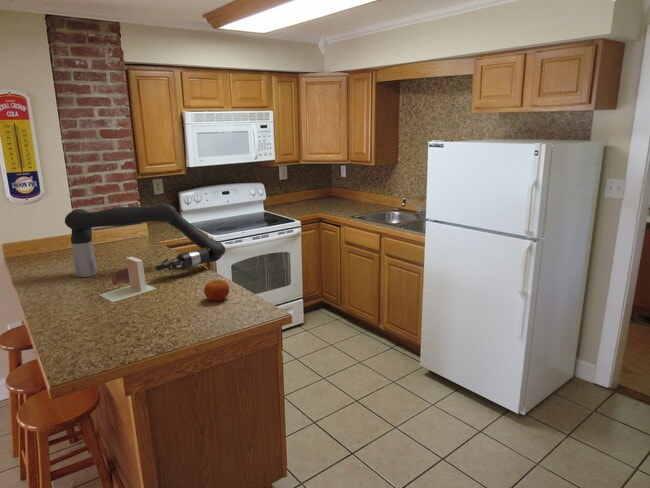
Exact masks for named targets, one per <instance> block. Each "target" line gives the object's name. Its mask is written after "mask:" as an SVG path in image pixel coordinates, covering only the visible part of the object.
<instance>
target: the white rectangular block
mask: <svg viewBox="0 0 650 488" xmlns="http://www.w3.org/2000/svg"><path fill="white" fill-rule="evenodd" d="M126 264H127V269H128V272H129V279H130V283H129V286H131V287H132V288H134V289H137V290H139V291H141V292H142V291H145V290H146V276H145V271H144V270H145V269H144V264H143V260H142V259H140V258H137V257H134V256H129V257H126Z"/></svg>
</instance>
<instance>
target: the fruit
mask: <svg viewBox="0 0 650 488" xmlns="http://www.w3.org/2000/svg"><path fill="white" fill-rule="evenodd" d="M203 292H204V296H205V297H206V299H208V300H210V301H214V302H215V301H217V302H218V301H222V300H224V299H225V298H227V296H228V295H229V293H230V285H229V284H228V283H227V281H225V280H222V279H213V280H210V281H208V282H207V283H206V284H205V285H204V289H203Z"/></svg>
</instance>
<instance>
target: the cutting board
mask: <svg viewBox="0 0 650 488" xmlns="http://www.w3.org/2000/svg"><path fill="white" fill-rule="evenodd" d="M156 289H157V288H156V287H154V286H151V285H148V284H146V290H145V291H142V292H141V291H139V290H137V289H134V288H132V287H131V286H130V285H127V286H124V287H119V288H117V289H114V290H111V291H110V290H109V291H106V292H103V293H100V294H98V295H99V296H100V297H102V298H104V299H106V300H108V301H110V302H112V303H115V302H119V301H121V300H124V299H127V298H131V297H134V296H138V295H141V294H144V293H147V292H150V291H154V290H156Z"/></svg>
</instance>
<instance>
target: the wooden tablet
mask: <svg viewBox="0 0 650 488" xmlns="http://www.w3.org/2000/svg"><path fill="white" fill-rule="evenodd" d="M112 278H113V279H112V286H117V285H119V284H130V279H129V272H128V268H126V269H125V268H124V269H120V270H116V271H115V272H114V274H113V277H112Z"/></svg>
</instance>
